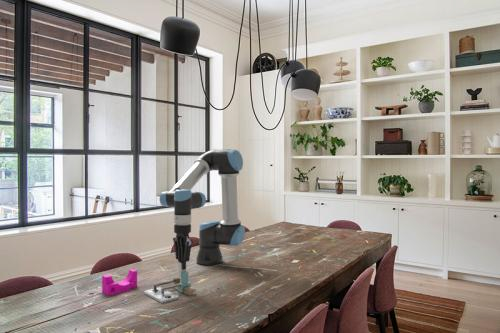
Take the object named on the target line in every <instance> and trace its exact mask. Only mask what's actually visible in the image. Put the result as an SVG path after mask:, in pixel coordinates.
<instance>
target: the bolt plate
mask: <svg viewBox="0 0 500 333" xmlns="http://www.w3.org/2000/svg"><path fill="white" fill-rule="evenodd" d="M161 288H162V286H159V287H158V286H157V290H154V288H151V289H147V290H143V294H144V295H145V296H147V297H149V298H150V299H153V300H155V301H157V302H159V303H160V304H165V303H169V302H172V301H176V300H178V299H180V296H179V295H178V294H175V293H173V292H171V291H170V290H168V289H167V290H164V294H162V290H161Z"/></svg>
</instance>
